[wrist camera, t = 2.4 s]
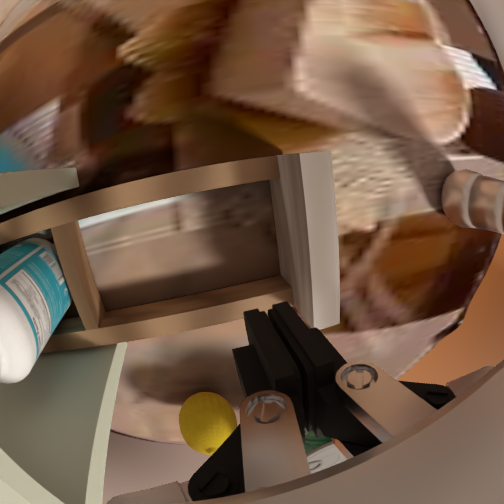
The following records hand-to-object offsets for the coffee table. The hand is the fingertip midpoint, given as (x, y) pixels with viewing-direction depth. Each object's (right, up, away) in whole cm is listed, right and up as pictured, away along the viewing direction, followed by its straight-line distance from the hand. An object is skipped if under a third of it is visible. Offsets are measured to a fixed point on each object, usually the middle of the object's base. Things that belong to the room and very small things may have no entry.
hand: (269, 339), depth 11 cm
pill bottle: (-19, +1, +10) cm, 22 cm away
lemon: (-6, -12, +17) cm, 21 cm away
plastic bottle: (+23, +10, +17) cm, 31 cm away
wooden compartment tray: (-12, +2, +10) cm, 16 cm away
